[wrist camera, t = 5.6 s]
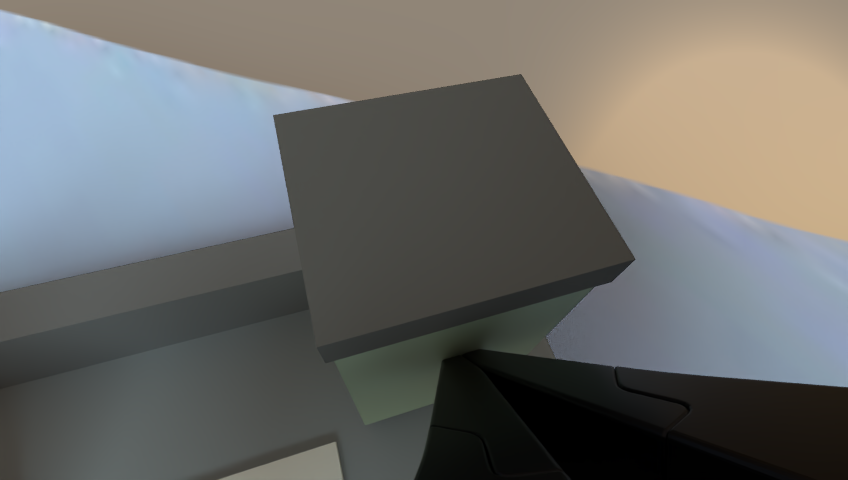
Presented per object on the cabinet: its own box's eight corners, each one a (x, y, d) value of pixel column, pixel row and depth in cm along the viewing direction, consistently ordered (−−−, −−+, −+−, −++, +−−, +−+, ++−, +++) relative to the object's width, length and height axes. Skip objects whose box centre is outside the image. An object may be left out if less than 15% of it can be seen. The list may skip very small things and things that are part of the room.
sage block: (503, 384, 14) (635, 258, 6) (362, 429, 13) (315, 347, 5) (460, 272, 16) (520, 73, 8) (335, 304, 15) (273, 115, 7)
